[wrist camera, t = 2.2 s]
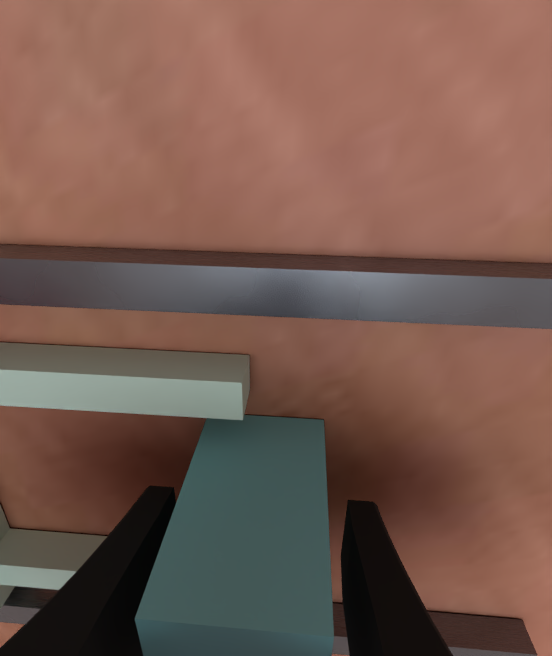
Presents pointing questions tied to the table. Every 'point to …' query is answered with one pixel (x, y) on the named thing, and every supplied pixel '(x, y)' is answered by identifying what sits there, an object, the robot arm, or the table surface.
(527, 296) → the lane rails
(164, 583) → the two-compartment tray
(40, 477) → the table surface
